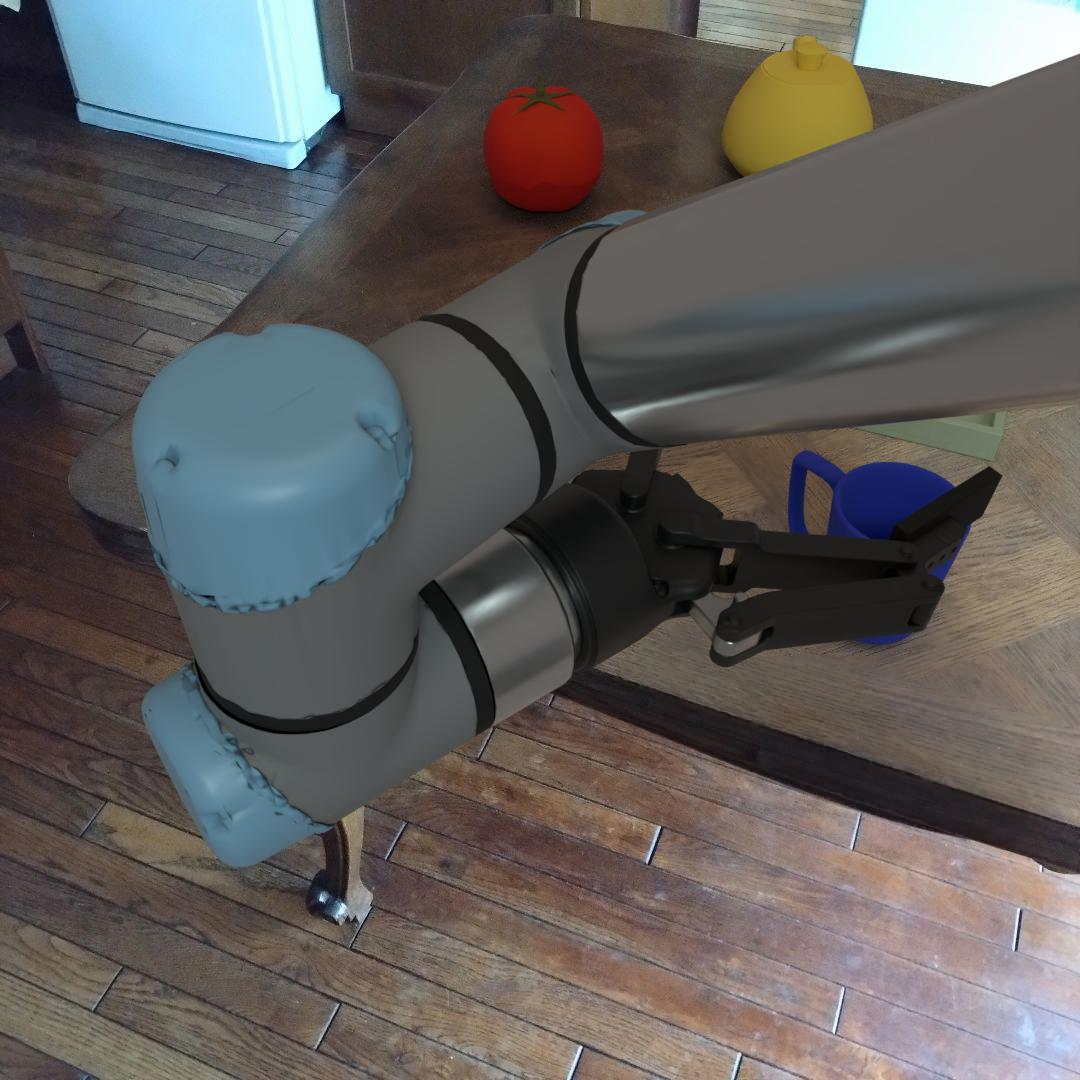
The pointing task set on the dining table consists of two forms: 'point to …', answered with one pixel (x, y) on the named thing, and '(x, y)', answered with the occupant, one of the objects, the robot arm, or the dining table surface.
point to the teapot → (794, 108)
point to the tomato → (543, 148)
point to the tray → (951, 433)
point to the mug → (867, 502)
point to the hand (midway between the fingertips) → (875, 411)
